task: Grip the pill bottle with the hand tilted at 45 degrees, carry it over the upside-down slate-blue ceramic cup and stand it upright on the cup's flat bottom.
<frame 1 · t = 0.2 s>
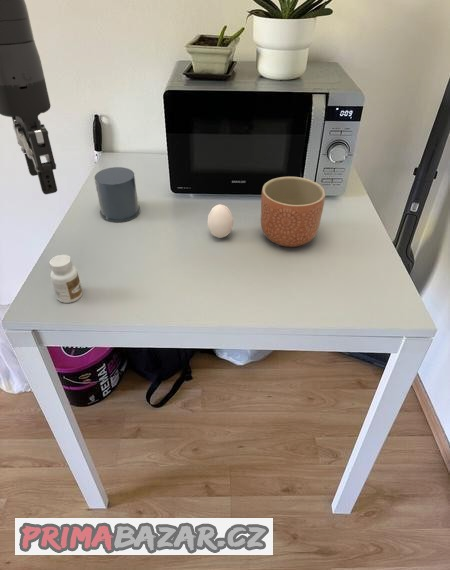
hand: (43, 183, 73), 18 cm above the table, tool pointing down, fingers open, 8 cm apart
cup: (120, 212, 101), on the table
egg: (220, 237, 93), on the table
planter: (288, 238, 93), on the table
pill bottle: (70, 296, 78), on the table
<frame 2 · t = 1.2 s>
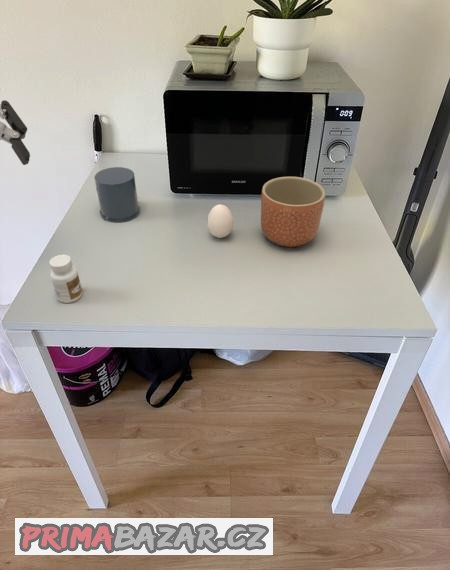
hand: (2, 170, 71), 20 cm above the table, tool tilted 45°, fingers open, 8 cm apart
nothing on the table moved.
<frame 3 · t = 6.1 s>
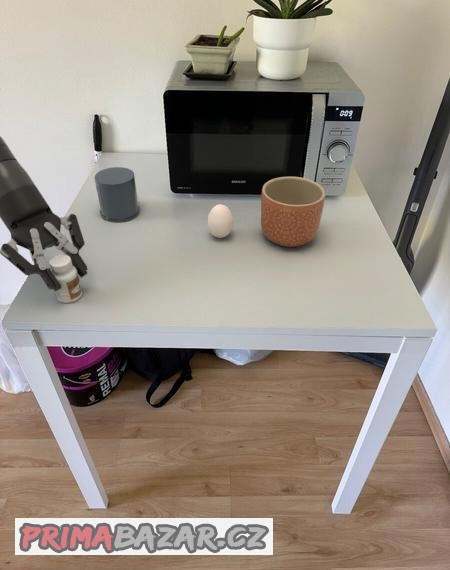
hand: (71, 281, 75), 4 cm above the table, tool tilted 45°, fingers closed on pill bottle, 4 cm apart
pill bottle: (70, 296, 78), on the table, touching gripper
everything else where it was.
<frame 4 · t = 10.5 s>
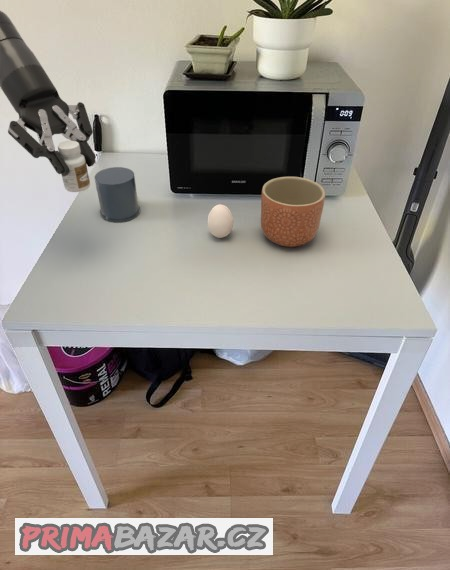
hand: (79, 168, 74), 19 cm above the table, tool tilted 45°, fingers closed on pill bottle, 4 cm apart
pill bottle: (78, 188, 78), point 15 cm above the table, touching gripper
everything else where it was.
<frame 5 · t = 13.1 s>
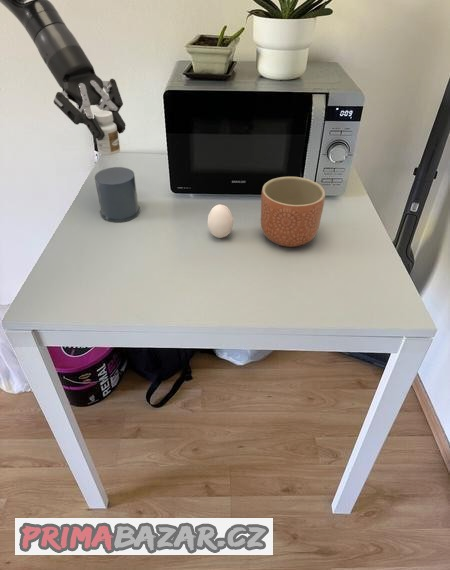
hand: (112, 134, 87), 19 cm above the table, tool tilted 45°, fingers closed on pill bottle, 4 cm apart
pill bottle: (109, 152, 91), point 14 cm above the table, touching gripper
everything else where it was.
when the fingers open (13 cm above the table, at t = 15.0 s): pill bottle stays where it is, resting on cup.
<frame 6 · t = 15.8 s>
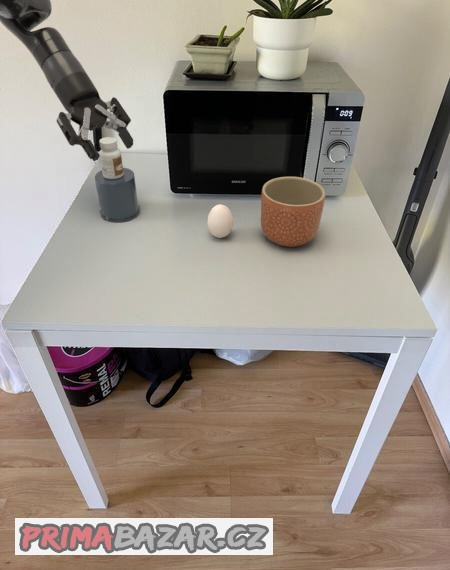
hand: (114, 152, 91), 15 cm above the table, tool tilted 45°, fingers open, 8 cm apart
cup: (120, 212, 101), on the table, touching pill bottle
pill bottle: (113, 176, 95), point 9 cm above the table, touching cup
everything else where it was.
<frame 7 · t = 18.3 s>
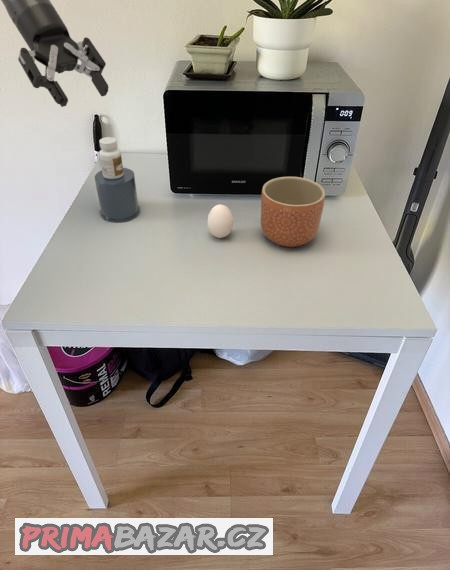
hand: (86, 98, 79), 26 cm above the table, tool tilted 45°, fingers open, 8 cm apart
nothing on the table moved.
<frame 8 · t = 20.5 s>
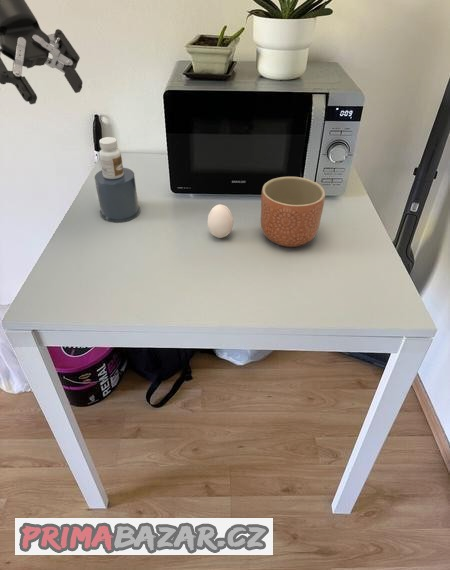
hand: (57, 95, 74), 29 cm above the table, tool tilted 45°, fingers open, 8 cm apart
nothing on the table moved.
at the end: pill bottle 0.2 cm off-centre on the cup, point 8.8 cm above the cup's base; pill bottle tilted 0°; cup tilted 0° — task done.
